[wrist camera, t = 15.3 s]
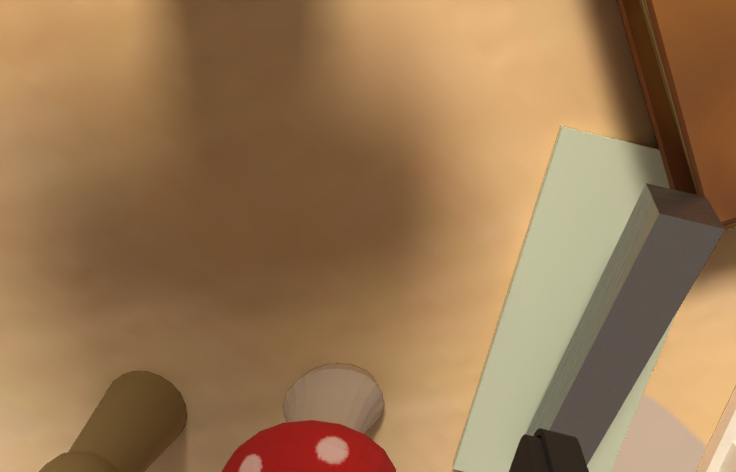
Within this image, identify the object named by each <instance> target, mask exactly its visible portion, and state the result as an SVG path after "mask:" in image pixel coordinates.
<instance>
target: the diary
mask: <svg viewBox="0 0 736 472" xmlns="http://www.w3.org/2000/svg"><path fill="white" fill-rule="evenodd" d="M617 2H618V6H619V9H620V13H621V16H622V20H623V23H624V27H625V30H626V34H627V37H628V41H629V44H630V48H631V52H632V55H633V59H634V62H635V66H636V69H637V73H638V76H639V80H640V83H641V87H642V90H643V94H644V97H645V101H646V105H647V108H648V112H649V115H650V119H651V122H652V126H653V129H654V133H655V136H656V140H657V143H658V147H659V150H660V154H661V157H662V161H663V165H664V168H665V172H666V175H667V179H668V182H669V186H670V189H673V190H677V191H682V192H686V193H690V194H694V195H699V196H703V197H707V199H708V201H709V202H710V204H711V206H712V207H713V209H714V211H715V213H716V214H717V216H718V218H719V219H720V221H721V223H722V224H723V226H724V228H725V229H728V228H731V227H735V226H736V0H617Z"/></svg>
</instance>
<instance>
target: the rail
mask: <svg viewBox="0 0 736 472" xmlns="http://www.w3.org/2000/svg"><path fill="white" fill-rule="evenodd" d="M724 230H725V228H724V226H723V224H722V223H721V221H720V219H719V218H718V216H717V214H716V213H715V211H714V209H713V207H712V206H711V204H710V202H709V201H708V199H707V197H703V196H699V195H694V194H690V193H686V192H682V191H677V190H673V189H669V188H665V187H660V186H656V185H652V184H648V183H646V184H645V186H644V188H643V190H642V192H641V194H640V197H639V199H638V201H637V203H636V205H635V207H634V209H633V211H632V213H631V215H630V217H629V219H628V222H627V224H626V226H625V228H624V230H623V232H622V234H621V236H620V238H619V240H618V242H617V244H616V247H615V249H614V251H613V253H612V255H611V257H610V259H609V261H608V263H607V265H606V267H605V269H604V272H603V274H602V276H601V278H600V280H599V282H598V284H597V286H596V288H595V290H594V292H593V294H592V297H591V299H590V301H589V303H588V305H587V307H586V309H585V311H584V313H583V315H582V317H581V319H580V321H579V324H578V326H577V328H576V330H575V332H574V334H573V336H572V338H571V340H570V342H569V344H568V346H567V349H566V351H565V353H564V355H563V357H562V359H561V361H560V363H559V365H558V367H557V369H556V371H555V374H554V376H553V378H552V380H551V382H550V384H549V386H548V388H547V390H546V392H545V394H544V396H543V399H542V401H541V403H540V405H539V407H538V409H537V411H536V413H535V415H534V417H533V419H532V421H531V424H530V426H529V428H528V430H527V432H526V435H530V436H534V433H535V432H536V430H537V429H539V428H542V429H546V430H550V431H554V432H558V433H562V434H566V435H570V436H574V437H576V438H577V439H578V441H579V443H580V446H581V449H582V452H583V455H584V458H585V461H586V464H587V465H588V463H589V461H590V460H591V458H592V456H593V455H594V453H595V451H596V449H597V448H598V446H599V444H600V443H601V441H602V439H603V437H604V436H605V434H606V432H607V431H608V429H609V427H610V425H611V424H612V422H613V420H614V419H615V417H616V415H617V414H618V412H619V410H620V408H621V407H622V405H623V403H624V402H625V400H626V398H627V396H628V395H629V393H630V391H631V390H632V388H633V386H634V384H635V383H636V381H637V379H638V378H639V376H640V374H641V372H642V371H643V369H644V367H645V366H646V364H647V362H648V360H649V359H650V357H651V355H652V354H653V352H654V350H655V349H656V347H657V345H658V343H659V342H660V340H661V338H662V337H663V335H664V333H665V331H666V330H667V328H668V326H669V325H670V323H671V321H672V319H673V318H674V316H675V314H676V313H677V311H678V309H679V307H680V306H681V304H682V302H683V301H684V299H685V297H686V295H687V294H688V292H689V290H690V289H691V287H692V285H693V284H694V282H695V280H696V278H697V277H698V275H699V273H700V272H701V270H702V268H703V266H704V265H705V263H706V261H707V260H708V258H709V256H710V254H711V253H712V251H713V249H714V248H715V246H716V244H717V242H718V241H719V239H720V237H721V236H722V234H723V232H724ZM511 464H512V463H511Z"/></svg>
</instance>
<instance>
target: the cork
mask: <svg viewBox="0 0 736 472" xmlns="http://www.w3.org/2000/svg"><path fill="white" fill-rule="evenodd" d="M186 418H187V412H186V404H185V402H184V400H183V398H182V396H181V394H180V392H179V391H178V390H177V389H176V388H175V387H174V386H173V384H172V383H170V382H169V381H167V380H166V379H164V378H163V377H161V376H159V375H156V374H153V373H150V372H141V371H134V372H130V373H126V374H123V375H121V376H120V377H119V378H117V379H116V380H114V381H113V383H112V384H111V386H110V387H109V389H108V390H107V392H106V394H105V395H104V397H103V398H102V400H101V401H100V403H99V405H98V406H97V408H96V409H95V411H94V413H93V414H92V416H91V417H90V419H89V420H88V422H87V424H86V425H85V427H84V428H83V430H82V431H81V433H80V435H79V436H78V438H77V439H76V441H75V442H74V444H73V446H72V447H71V449H70V450H69V452H68V453H64V454H61V455H60V456H58V457H56V458H55V459H53V460H52V461H50V462H49V463H47V464H46V465H45V466H44V467H43V468H42V469H41V470H40V471H39V472H144V471H145V470H146V469H147V468H148V467H149V466H150V465H151V464H152V463H153V462H154V461H155V460H156V459H157V458H158V456H159V455H160V454H161V453H162V452H163V451H164V450H165V449H166V448H167V447H168V446H169V445H170V444H171V443H172V442H173V441H174V440H175V438H176V437H177V436H178V435H179V434H180V432H181V431H182V430H183V428H184V426H185V422H186Z"/></svg>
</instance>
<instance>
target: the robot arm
mask: <svg viewBox="0 0 736 472" xmlns="http://www.w3.org/2000/svg"><path fill="white" fill-rule="evenodd" d="M509 472H589V470H588V467H587V464H586V461H585V458H584V455H583V452H582V449H581V446H580V443H579V441H578V439H577V438H576V437H574V436H570V435H566V434H562V433H558V432H554V431H550V430H546V429H542V428H539V429H537V430H536V432H535V433H534V436H530V435H526V434H524V435H523V436H522V437H521V439H520V442H519V444H518V447H517V450H516V453H515V456H514V459H513V461H512V464H511V467H510V470H509Z"/></svg>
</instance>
